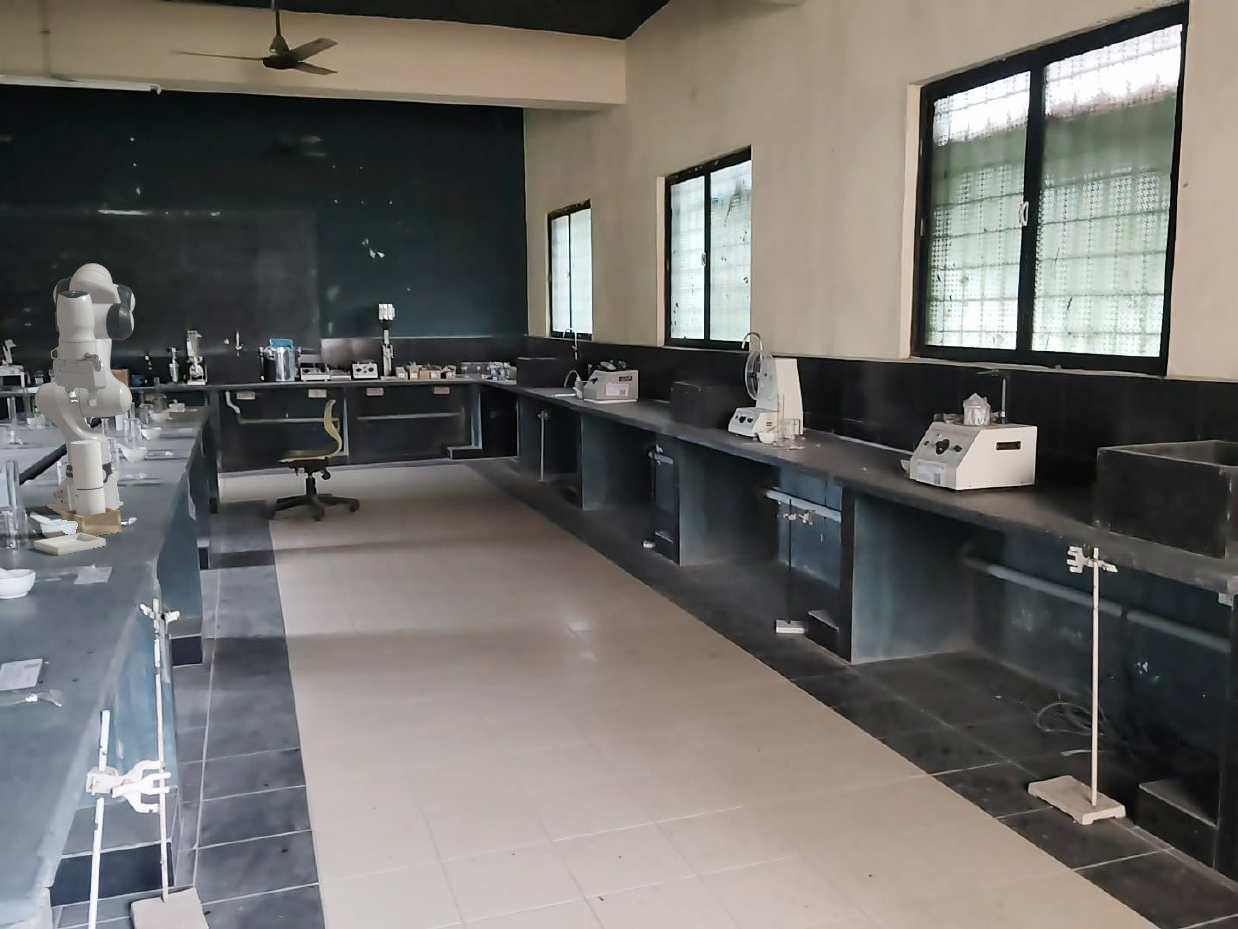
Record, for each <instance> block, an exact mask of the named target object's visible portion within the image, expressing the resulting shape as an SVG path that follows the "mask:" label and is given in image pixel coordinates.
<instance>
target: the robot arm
mask: <svg viewBox="0 0 1238 929" xmlns="http://www.w3.org/2000/svg"><path fill="white" fill-rule="evenodd" d="M52 297H53V301H54V304H55V307H56V311H55V312H54V321H55V322H54V323H55V325H54V326H55V330H56V331H57V332H58V333H59V337H58V346H57V347H55V348H54V349H52V350H50V358H51V359H52V360H53V361H52V370H53V376H54V381H51V382H47V383H43V384H41V385H40V386H39V387H38V389H37V390H36V393H35V394H34V402H35V406H36V408H37V410H38V411H39V412H40V414H42V416H44V417H46V418H47V419H49V420H51V421H52V422H53V423H54V424H55V425H56V426H57V428H58V429H59V431H60V432H61V434H62V436H63V439H64V442H65V443H64V444H65V447H66V456H67V462H68V463H67V465H64V468H65V467H66V468H65V476H66V477H65V478H64V479H63V480H62V481H61V482H60V484H59V485H58V486H57V487H56V488H55V490H54V491H53V498H54V499H55V502H52V503H49V504H47V507H48V509H49V510H51V509H52V510H51V511H53V512H55V513H56V514H59V515H61V512H64V511H71V510H76V508H75V494H74V483H73V470H72V457H71V444H70V443H71V442H74V441H84V440H98V441H100V445H101V458H102V471H103V485H104V498H105V507H107V508H112V509H116V510H119V508H120V507H121V506H124V501H122V500H120V495H119V489H118V483H117V479H115V478H114V477H113V476H112V475H113V466H112V462H111V461H110V449H109V448H110V447H109V439H108V438H107V435H106V434H104V433H103V432H102V431H100V430H98V429H95V428H93V427H90V425H88V424H87V422H86V420H85V419H86V418H89V419H90V418H111V417H117V416H121V415H125V414H126V413H128V411H129V410H130V408H131V406H132V403H133V396H132V392H131V390H130V388H129V387H128V386H127V385H126V384H125V383H124V382H123V381H120V380H119V379H117V377H115V376H114V374H113V372H112V371H111V370H112V369H111V355H112V347H113V345H112V344H113V343H112V342H113V340H117V341H125V340H126V339H127V338H129V337H130V336H131V335H132V334H133V331H134V327H135V326H134V325H135V320H134V316H133V311H134V310H135V306H136V298H135V295H134V293H133V290H132V288H131V287H129V286H126V285H123V284H122V283H121V284H120V283H119V284H116V283H113V279H112V276H111V273H110V271H109V270H108V269H107V268H106V267H105V266H103V265H101V264H98V263H86V264H83V265H82V266H81V267H79V268H78V269H77V270H76V271H75V273H74V274H73V276H68V277H67V278H62V279H60V280H59V281H58V282H56V286H55V287H54V290H53V296H52Z"/></svg>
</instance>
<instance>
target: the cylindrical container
mask: <svg viewBox="0 0 1238 929" xmlns="http://www.w3.org/2000/svg"><path fill="white" fill-rule="evenodd" d="M70 444H71V457H72V470H73V483H74V494H75V508H76V515H80V516H86V515H92V514H98V513H104V512H106V511H105V498H104V485H103V471H102V458H101V445H100V441H98V440H84V441H74V442H71V443H70Z"/></svg>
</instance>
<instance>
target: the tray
mask: <svg viewBox="0 0 1238 929" xmlns="http://www.w3.org/2000/svg"><path fill="white" fill-rule="evenodd" d="M106 541H107V540H106V538H103V537H101V536H97V537H96V536H93V535H89V534H85V533H76V534H70V535H66V534H64V535H61V536H56V537H55V536H54V537H49V538H43V539H38V540H34V541H33V545H34V550H38V551H40V552H41V551H42V552H45V553H48V554H51V555H55V556H64V555H68V554H69V553H70V554H74V552H75V553H79V552H85V551H88V550H94V549H93V548H95V549H99V548H98V547H100V548H103V547H102V546H105V547H107V542H106Z"/></svg>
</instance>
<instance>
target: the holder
mask: <svg viewBox="0 0 1238 929" xmlns="http://www.w3.org/2000/svg"><path fill="white" fill-rule="evenodd" d="M105 511H106V512H104V513H98V514H92V515H86V516H80V515H76V510H71V511H64V512H61V514H60V516H61V518H60V519H61V521H62V520H67V521H76V522H77V523H78V527H77V529H76V533H85V534H89V535H93V536H97V537H100V536H99V535H102V536H104V535H103V534H108V535H112V534H111V533H113V534H118V533H117V532H119V533H123V532H122V531H123V530H122V514H121V510H119V509H112V508H107V507H105Z"/></svg>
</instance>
